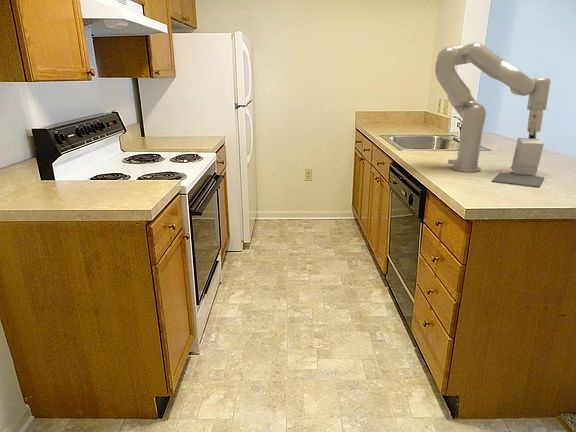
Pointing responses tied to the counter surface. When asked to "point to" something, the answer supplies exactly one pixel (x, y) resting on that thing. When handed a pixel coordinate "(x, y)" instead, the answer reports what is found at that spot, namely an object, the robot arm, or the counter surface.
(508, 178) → the mat
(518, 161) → the supplement box
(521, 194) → the counter surface
